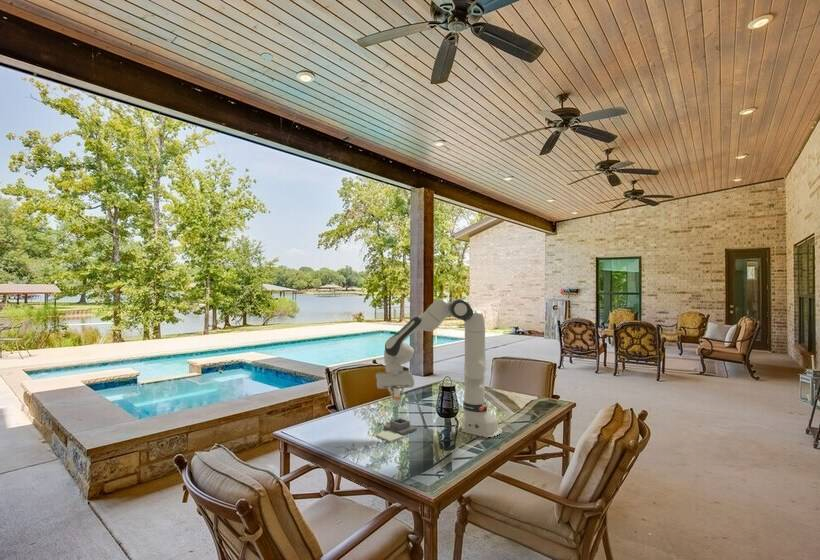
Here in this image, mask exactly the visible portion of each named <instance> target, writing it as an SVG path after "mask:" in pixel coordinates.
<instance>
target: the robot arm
mask: <svg viewBox="0 0 820 560" xmlns="http://www.w3.org/2000/svg"><path fill="white" fill-rule="evenodd" d="M451 316H452V317H454V318H455V319H458V320H461V321H463V322H464V378H463V379H464V381H463V382H464V383H463V384H464V385H463V387H464V389H463V391H464V393H463V402H462V403H463V405H462V408H463V412H462V413H463V414H462V415H463V416H462V421H461V425H460V429H461V430H462V432H463V433H465V434H469V435H470V434H471V435H475V436H477V437H482V436H483V437H482V438H488V437H491V438H495V437H498V436H500V435H501V434H503V430H502V429H501V428H499V425H498V420H497V419H496V418H495V416H493V414H491V412H490V411H488V408H489V407H490V406H489V404H486V402H485V400H486V399H485V392H486V391H485V390H486V389H485V387H486V384H485V374H486V369H487V368H486V366H487V365H486V364H487V363H486V361H487V360H486V325H485V317H484V315H483V313H482V312H481V311H478V310H473V308H472V307H471V305H470V303H469V302H468V301H467V299H464V298H461V297H459V298H456V299H453V300H450V301H448V300H447V299H444V298H437V299H436V300H434V302H432V303H431V304H430V305H429V306H428V307H427V308H426V310H425V311H424V312H423V313H421V314H420V315H418V316H415V317H413V318H411V320H409V321H408V322H407V323H406V324H405V325H404V326H403V327H402V328H401V329H399V331H397V333H395V334H394V335H393V336H391V337H389V338H388V339H387V340H386V342H385V344H384V352H383V360H384V364H385V367H384V368H385V371H381V372H380V371H379V372H376V373H375V379H376V387H377V389H379V390H381V389H382V390H383V389H387V391H388V392H389V394H390V396H393V395H394V390H392V389H394V386H395V385H399V386H401V388H400V396H403V395H404V390H405V389H408V388H409V389H411V388H413V387H414V386H415V378H414V376H413V373H411V368H410V367H408V366H403V365H406V364H407V363H409V362H410V361H412V360H413V358H414V357H415V349H414V347H412V346H411V345H410V344H407V343H406V342H405V341H406V340H407V339H408V338H409V337H410V336H411V335H412V334H413V333H415V332H418V331H424V332H433V331H435V330H437V329H438V328H439V327H440V326H441V324H442V323H443V322H444V321H445V319H447V318H448V317H451ZM499 434H500V435H499ZM497 435H498V436H497ZM494 436H495V437H494ZM488 439H489V438H488Z"/></svg>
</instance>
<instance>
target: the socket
mask: <svg viewBox="0 0 820 560" xmlns="http://www.w3.org/2000/svg"><path fill="white" fill-rule="evenodd" d="M410 423H411V421H410V420H407V419H405V418H402V417H399V418H395V419H392V420H390V423H388V424H385V425H383V430H385V431H388V430H389V431H392V432H395V433H397V434H400V435H402V436H405V435H408V434H411V433H414V432H417V427H416V426H413V425H411V424H410Z"/></svg>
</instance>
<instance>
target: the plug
mask: <svg viewBox="0 0 820 560" xmlns="http://www.w3.org/2000/svg"><path fill="white" fill-rule="evenodd" d="M393 391H394V395H392V400H393V403H392V404H394V405H400V404H401V399H402V395H400V391H401V386H399V385H395V386H394V388H393Z"/></svg>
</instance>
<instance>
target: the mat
mask: <svg viewBox="0 0 820 560" xmlns="http://www.w3.org/2000/svg"><path fill="white" fill-rule="evenodd" d="M375 437H377V438H379V439H382V440H384V441H386V442H389V443H392V442H395V441H398V440H401V439H404V438H405V435H403V436H402V435H400V434H397V433H395V432H392V431H389V430H385V431H383V432H379V433H376V434H375Z"/></svg>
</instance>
